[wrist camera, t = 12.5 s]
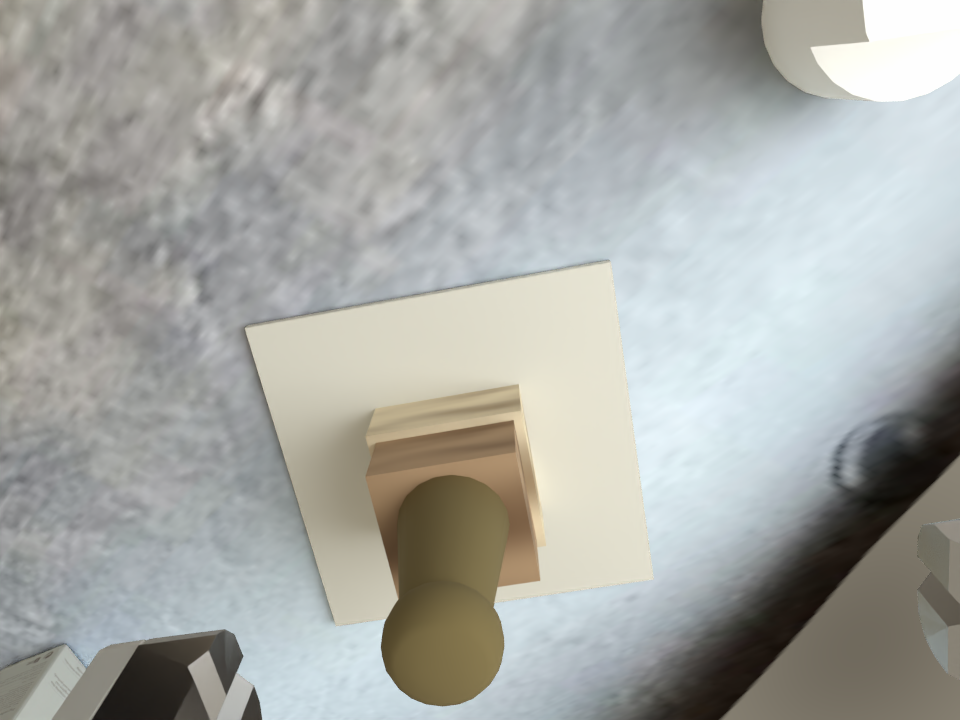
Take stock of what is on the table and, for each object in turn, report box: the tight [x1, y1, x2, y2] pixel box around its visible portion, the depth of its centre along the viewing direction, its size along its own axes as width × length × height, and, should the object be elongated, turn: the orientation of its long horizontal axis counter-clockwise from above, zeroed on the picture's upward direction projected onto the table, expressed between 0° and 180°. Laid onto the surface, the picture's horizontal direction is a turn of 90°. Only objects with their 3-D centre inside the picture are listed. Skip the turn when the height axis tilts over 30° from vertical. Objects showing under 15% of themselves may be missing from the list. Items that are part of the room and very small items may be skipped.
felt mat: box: [245, 260, 654, 626], centre depth 50 cm, size 22×22×1 cm
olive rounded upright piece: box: [381, 475, 510, 706], centre depth 37 cm, size 6×6×11 cm
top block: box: [365, 420, 540, 600], centre depth 44 cm, size 8×8×4 cm
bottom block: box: [365, 384, 546, 547], centre depth 47 cm, size 9×9×4 cm
